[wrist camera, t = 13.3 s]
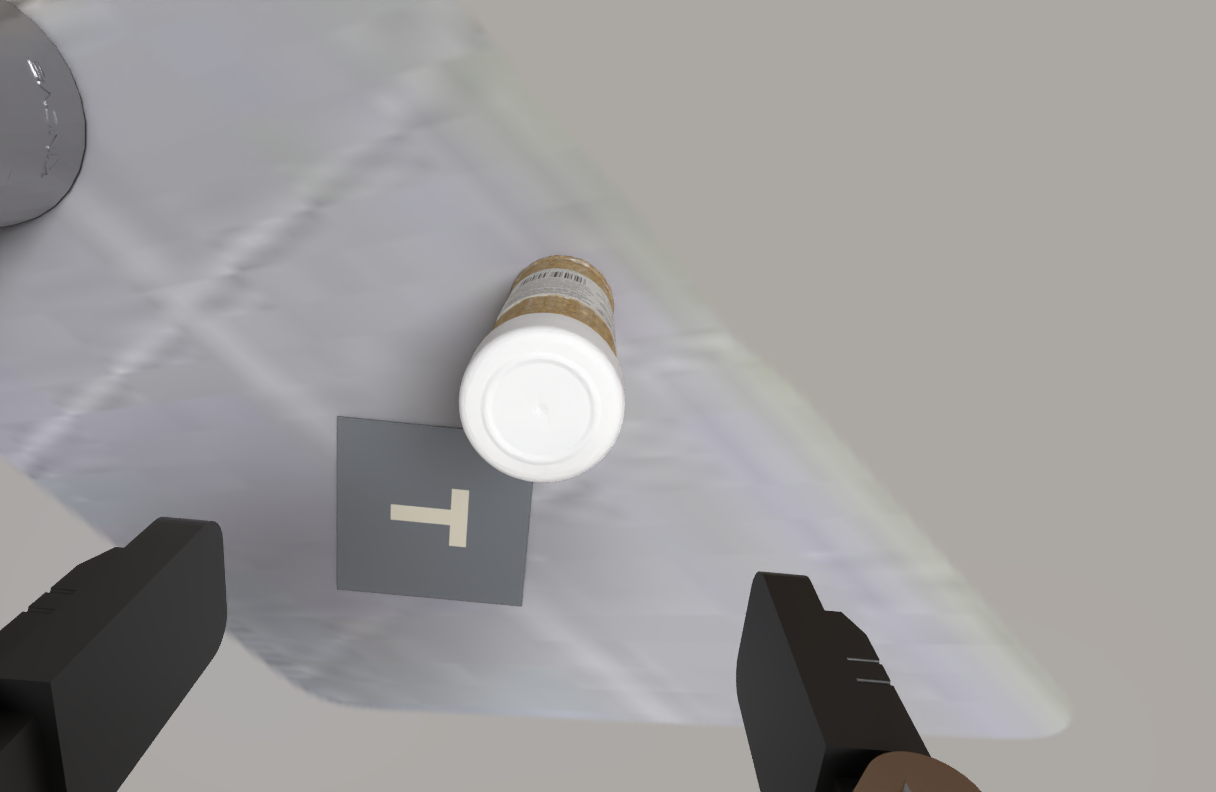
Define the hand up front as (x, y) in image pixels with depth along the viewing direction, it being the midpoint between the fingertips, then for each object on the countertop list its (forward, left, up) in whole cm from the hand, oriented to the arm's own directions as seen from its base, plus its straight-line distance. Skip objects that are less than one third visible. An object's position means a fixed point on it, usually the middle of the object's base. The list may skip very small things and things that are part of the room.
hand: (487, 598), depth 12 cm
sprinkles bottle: (0, 0, -23) cm, 23 cm away
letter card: (-5, -11, -23) cm, 26 cm away
